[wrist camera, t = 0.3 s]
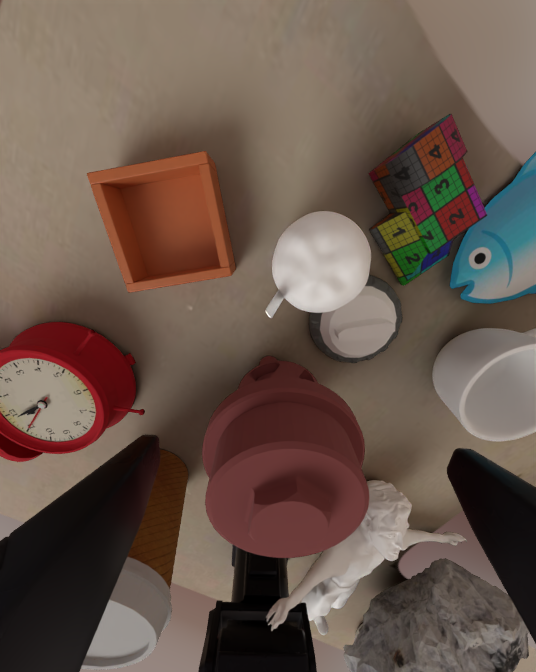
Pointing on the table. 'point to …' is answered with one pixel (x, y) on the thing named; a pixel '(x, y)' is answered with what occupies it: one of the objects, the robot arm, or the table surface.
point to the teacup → (490, 382)
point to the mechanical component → (284, 464)
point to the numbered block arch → (425, 200)
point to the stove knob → (359, 324)
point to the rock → (440, 626)
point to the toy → (501, 245)
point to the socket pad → (165, 221)
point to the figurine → (357, 556)
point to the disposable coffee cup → (144, 577)
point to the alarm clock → (61, 390)
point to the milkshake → (320, 263)
